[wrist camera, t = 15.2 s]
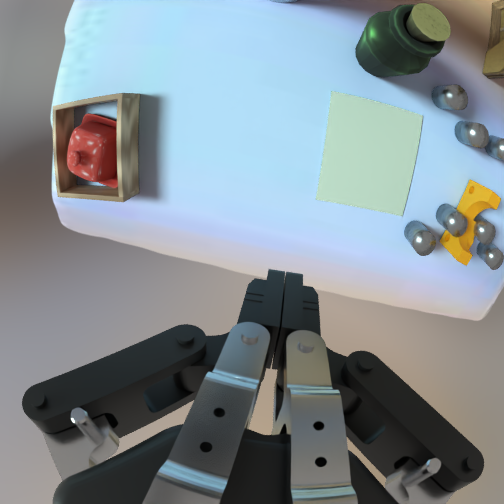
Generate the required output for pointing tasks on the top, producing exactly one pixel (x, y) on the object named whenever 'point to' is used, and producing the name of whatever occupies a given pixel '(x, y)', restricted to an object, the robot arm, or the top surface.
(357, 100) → the pad
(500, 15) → the picture frame
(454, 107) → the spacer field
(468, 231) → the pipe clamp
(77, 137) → the butter dish
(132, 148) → the frame
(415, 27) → the potion bottle
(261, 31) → the top surface
